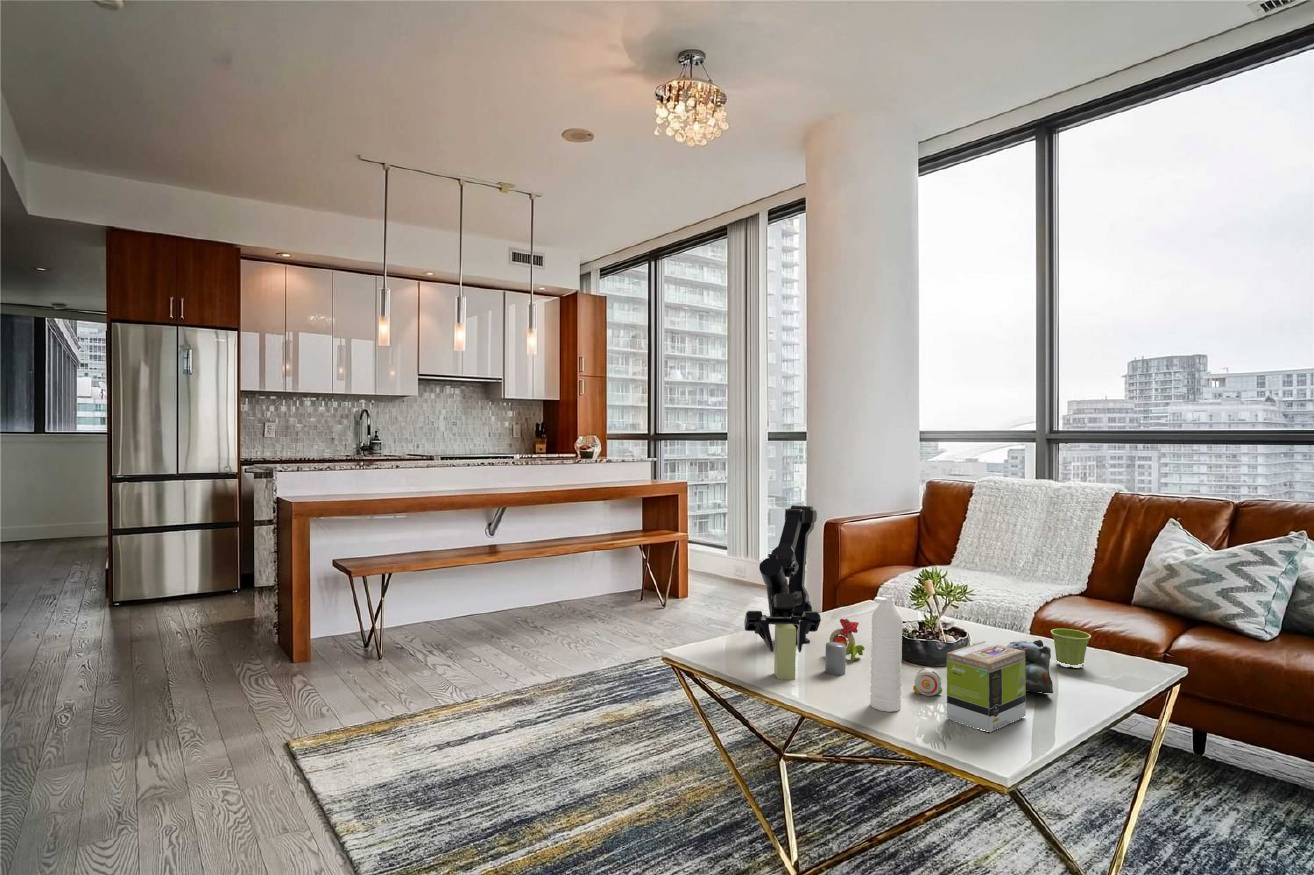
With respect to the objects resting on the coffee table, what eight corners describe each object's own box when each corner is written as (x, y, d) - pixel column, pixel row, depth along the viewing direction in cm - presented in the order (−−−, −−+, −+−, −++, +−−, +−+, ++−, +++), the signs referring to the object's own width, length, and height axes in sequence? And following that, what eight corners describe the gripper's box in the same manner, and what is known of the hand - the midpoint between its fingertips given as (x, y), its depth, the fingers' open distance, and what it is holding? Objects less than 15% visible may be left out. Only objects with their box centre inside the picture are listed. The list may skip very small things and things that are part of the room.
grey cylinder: (822, 669, 193) (822, 642, 192) (840, 668, 194) (840, 641, 193) (830, 676, 188) (830, 648, 188) (848, 675, 189) (849, 647, 189)
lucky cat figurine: (976, 687, 180) (978, 630, 186) (1008, 701, 185) (1009, 645, 191) (1033, 687, 168) (1034, 626, 174) (1066, 702, 173) (1065, 642, 179)
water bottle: (876, 699, 172) (878, 590, 171) (904, 706, 168) (907, 594, 167) (862, 710, 165) (864, 597, 164) (891, 717, 161) (893, 601, 160)
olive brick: (774, 673, 189) (775, 623, 189) (791, 673, 189) (792, 624, 189) (777, 679, 185) (778, 628, 185) (795, 679, 185) (796, 628, 185)
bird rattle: (832, 667, 202) (863, 659, 197) (818, 626, 204) (847, 617, 199) (841, 661, 207) (871, 653, 202) (826, 622, 209) (855, 613, 205)
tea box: (982, 704, 170) (984, 639, 169) (1026, 719, 161) (1028, 650, 161) (944, 719, 161) (945, 650, 160) (989, 735, 152) (990, 662, 152)
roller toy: (941, 699, 172) (941, 674, 172) (912, 695, 175) (912, 670, 175) (942, 693, 176) (943, 669, 176) (914, 689, 179) (914, 665, 179)
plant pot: (1098, 669, 197) (1099, 636, 197) (1072, 673, 193) (1073, 639, 193) (1067, 658, 206) (1068, 627, 205) (1041, 662, 202) (1042, 630, 202)
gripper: (746, 579, 190) (752, 634, 179) (819, 580, 191) (830, 635, 180) (741, 602, 198) (747, 657, 187) (812, 603, 199) (821, 657, 188)
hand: (786, 651), depth 185 cm, fingers open, 7 cm apart
